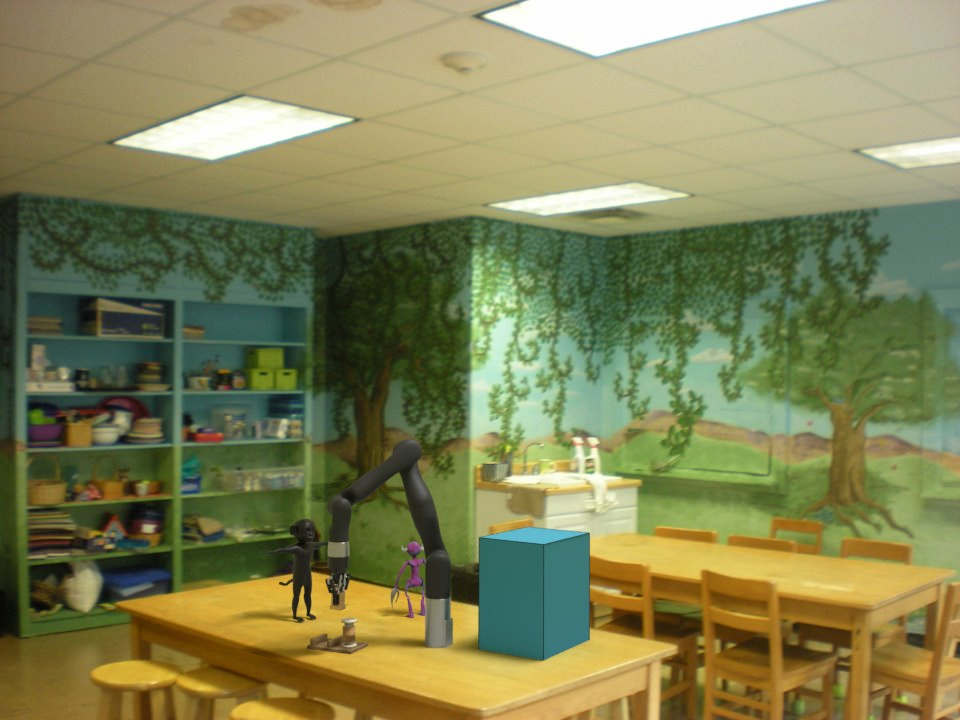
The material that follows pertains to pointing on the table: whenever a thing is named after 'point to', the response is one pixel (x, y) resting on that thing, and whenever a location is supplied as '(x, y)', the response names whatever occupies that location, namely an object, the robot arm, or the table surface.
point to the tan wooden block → (341, 602)
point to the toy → (415, 580)
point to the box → (534, 592)
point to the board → (339, 640)
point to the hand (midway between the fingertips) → (338, 604)
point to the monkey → (301, 562)
